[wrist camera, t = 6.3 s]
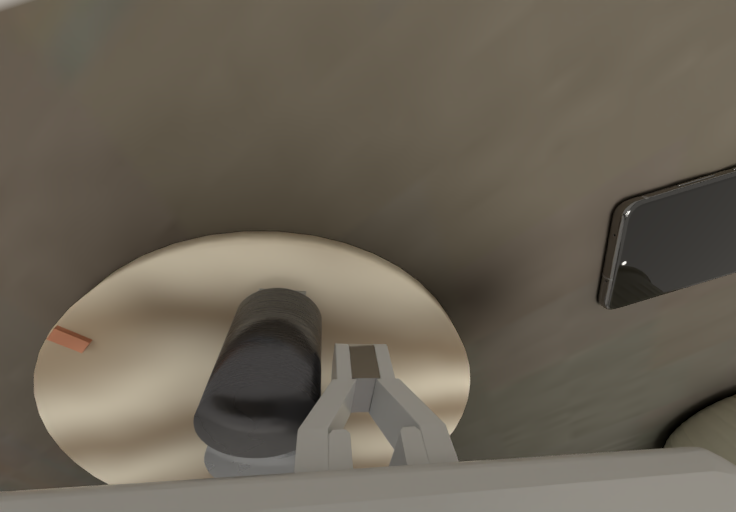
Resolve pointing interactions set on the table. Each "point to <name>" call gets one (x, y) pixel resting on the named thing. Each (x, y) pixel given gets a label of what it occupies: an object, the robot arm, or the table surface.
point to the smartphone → (670, 240)
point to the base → (206, 337)
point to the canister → (710, 430)
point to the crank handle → (262, 385)
